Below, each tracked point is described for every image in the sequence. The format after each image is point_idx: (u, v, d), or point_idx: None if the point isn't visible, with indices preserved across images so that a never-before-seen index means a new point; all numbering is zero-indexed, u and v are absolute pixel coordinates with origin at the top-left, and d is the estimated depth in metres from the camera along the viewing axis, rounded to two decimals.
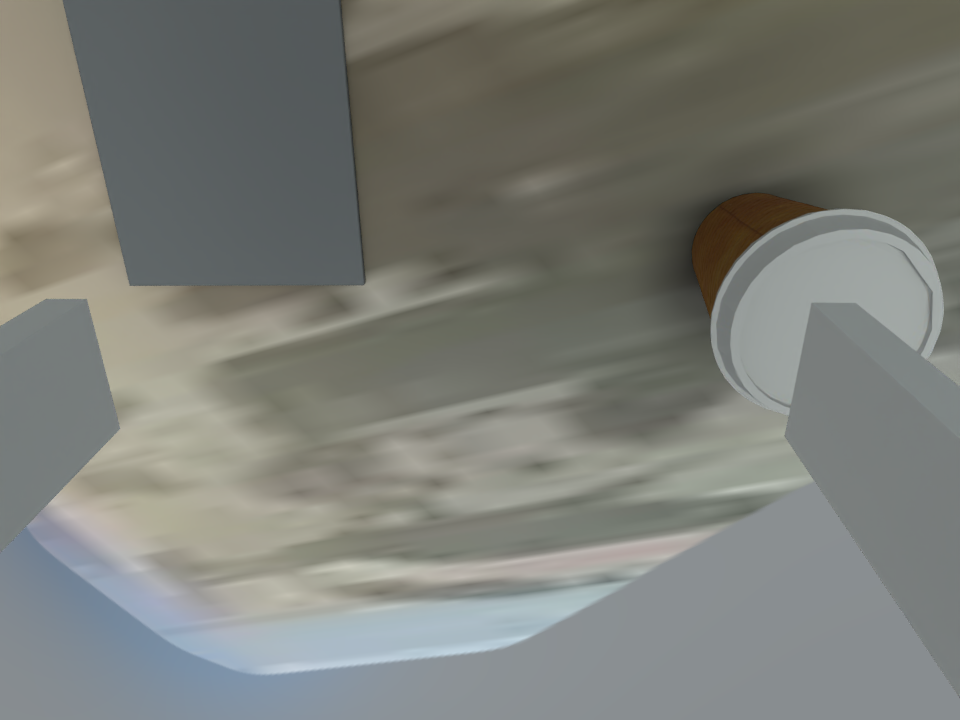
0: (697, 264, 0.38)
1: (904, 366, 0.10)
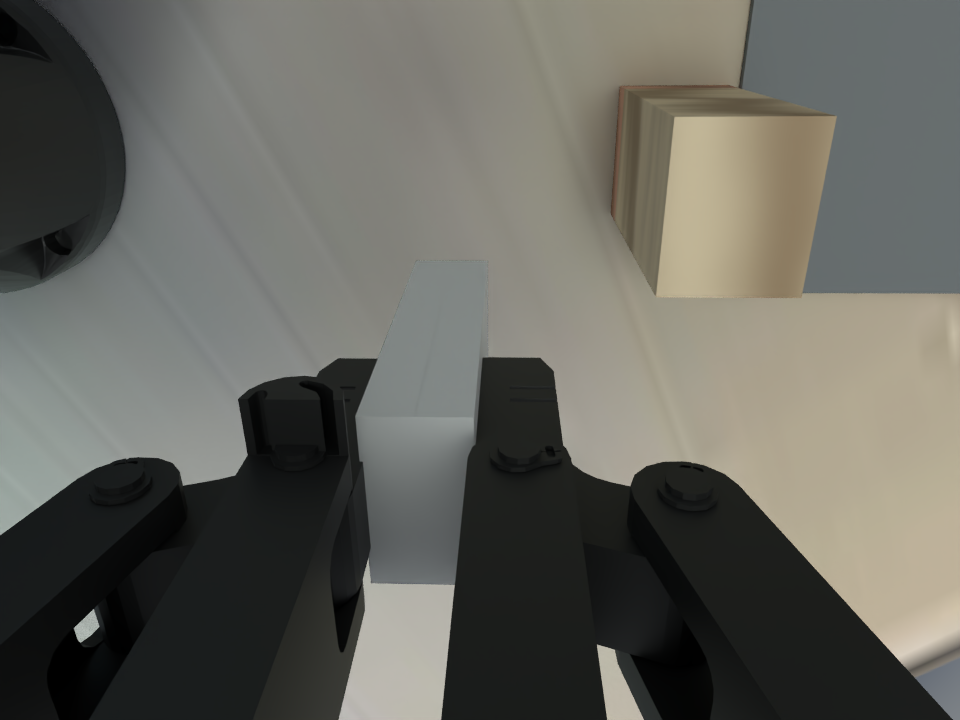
0: None
1: (459, 304, 0.12)
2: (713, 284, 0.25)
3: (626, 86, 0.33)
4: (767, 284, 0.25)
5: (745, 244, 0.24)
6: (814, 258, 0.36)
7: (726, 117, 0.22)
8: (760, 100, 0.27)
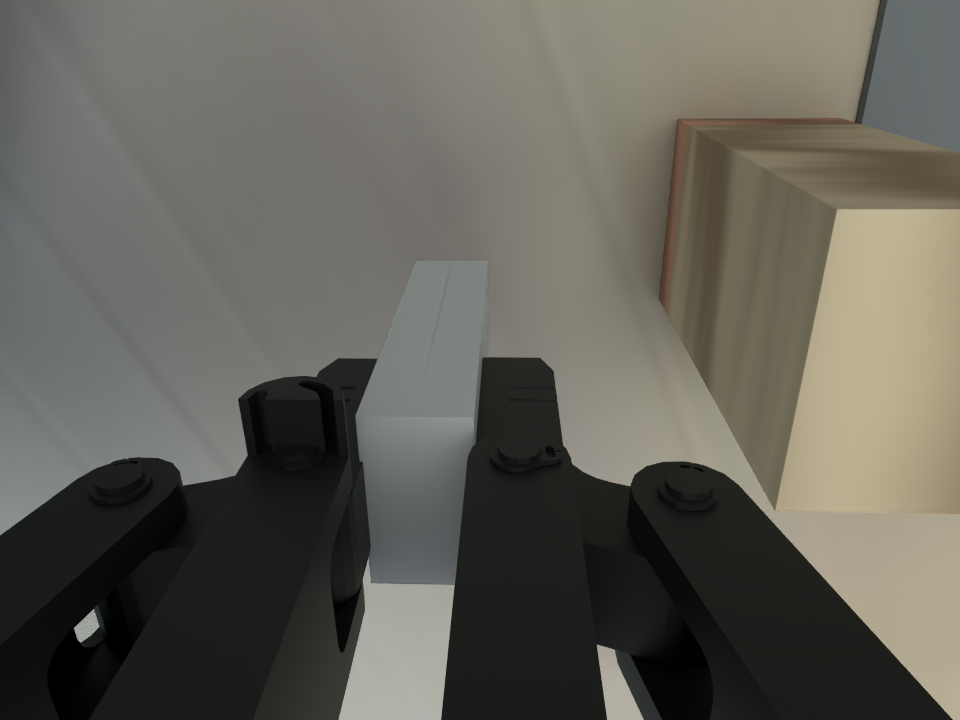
0: None
1: (459, 304, 0.12)
2: (879, 492, 0.14)
3: (688, 120, 0.22)
4: None
5: (944, 430, 0.13)
6: None
7: (938, 211, 0.12)
8: (937, 156, 0.16)
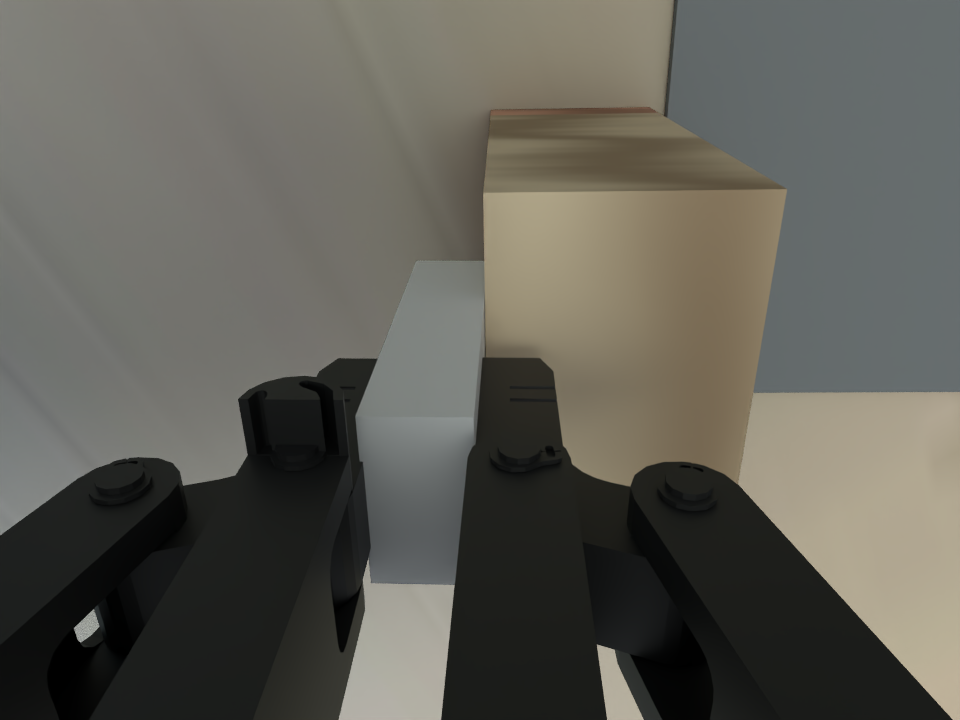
0: None
1: (459, 304, 0.12)
2: (583, 469, 0.14)
3: (499, 110, 0.22)
4: None
5: (633, 407, 0.14)
6: (780, 347, 0.26)
7: (580, 193, 0.12)
8: (673, 142, 0.16)
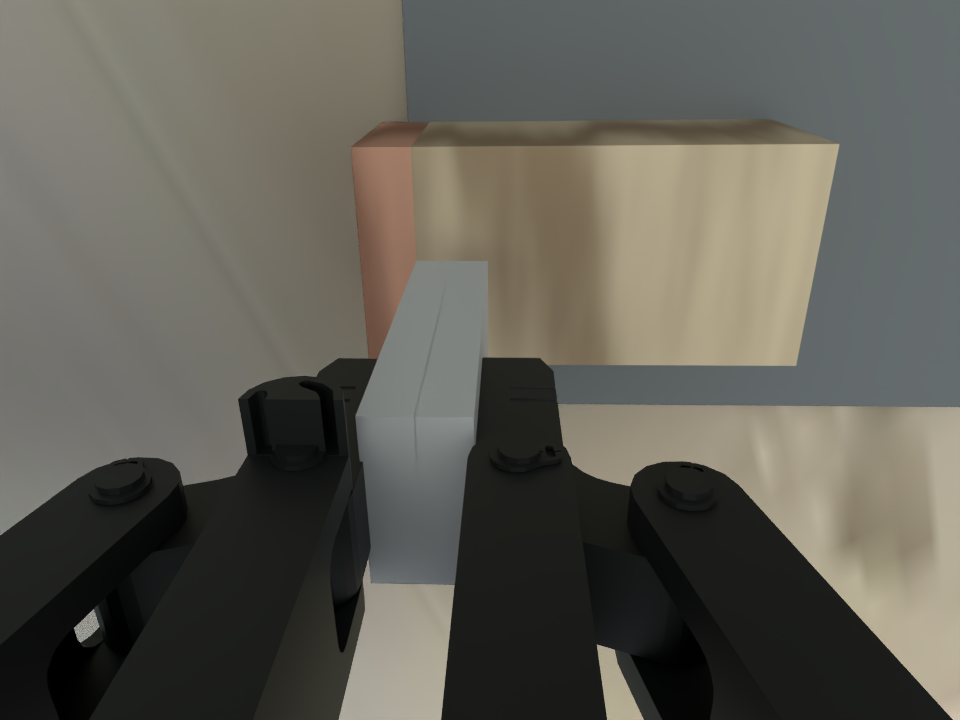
0: None
1: (459, 304, 0.12)
2: None
3: (365, 145, 0.18)
4: None
5: None
6: None
7: None
8: (611, 123, 0.21)
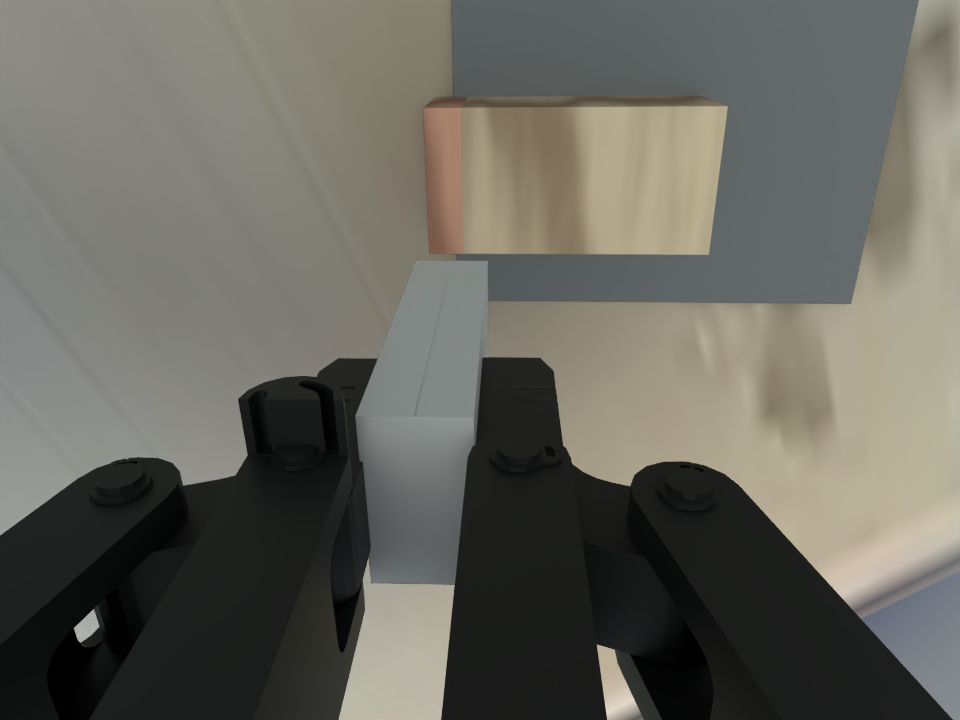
0: None
1: (459, 304, 0.12)
2: None
3: (431, 107, 0.29)
4: None
5: None
6: (551, 267, 0.36)
7: (717, 102, 0.29)
8: (590, 97, 0.32)
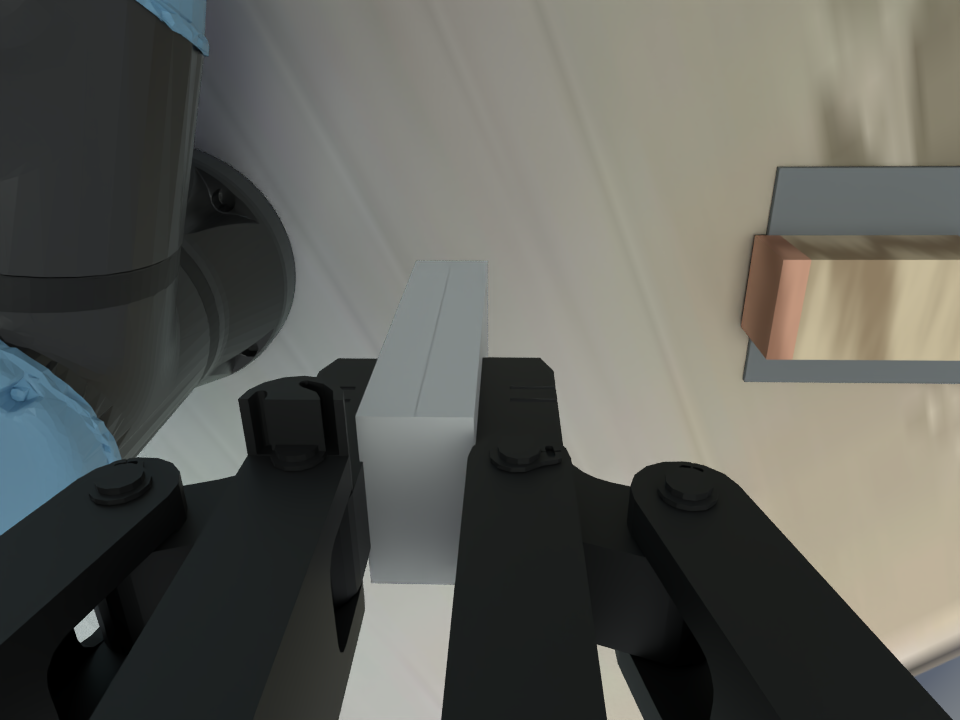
0: None
1: (459, 304, 0.12)
2: None
3: (787, 258, 0.39)
4: None
5: None
6: None
7: None
8: (879, 238, 0.42)
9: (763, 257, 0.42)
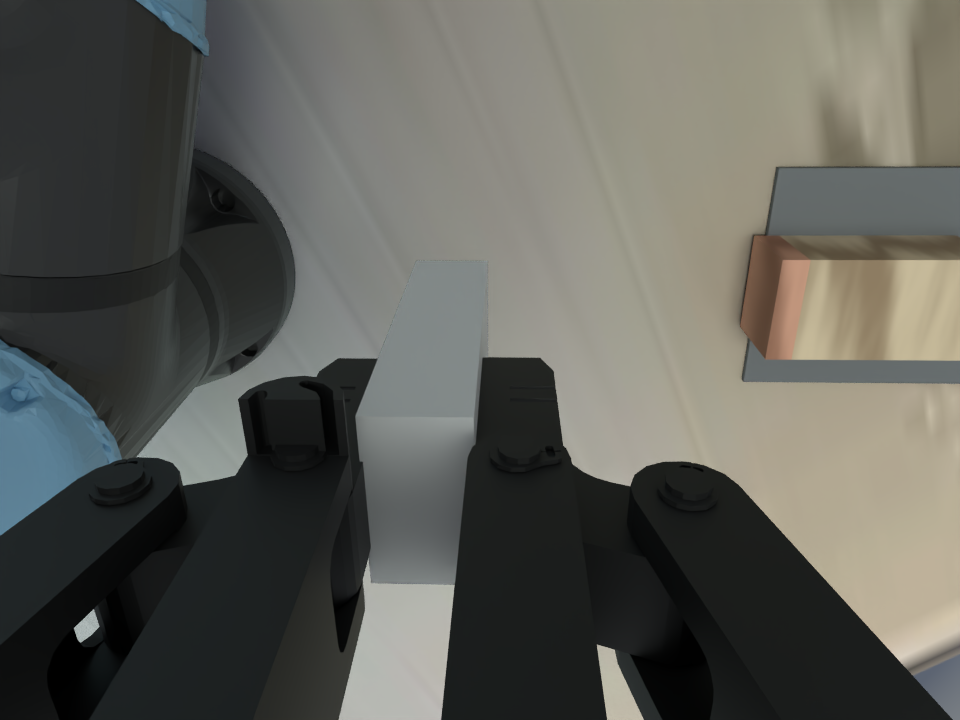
0: None
1: (459, 304, 0.12)
2: None
3: (787, 258, 0.39)
4: None
5: None
6: None
7: None
8: (878, 238, 0.43)
9: (763, 257, 0.42)
